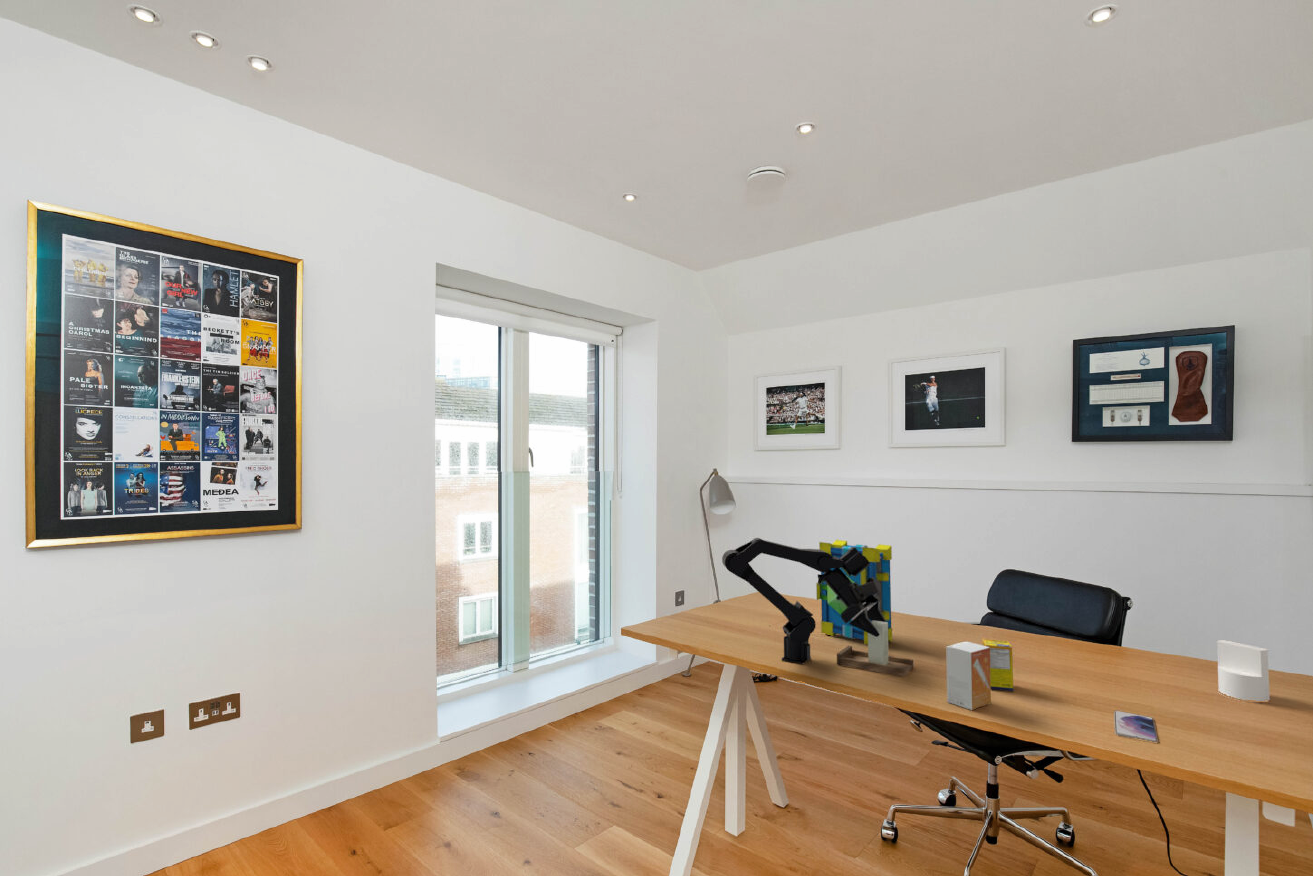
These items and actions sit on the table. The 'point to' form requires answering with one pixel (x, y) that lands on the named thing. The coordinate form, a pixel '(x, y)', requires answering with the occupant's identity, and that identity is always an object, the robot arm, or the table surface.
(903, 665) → the wooden tray
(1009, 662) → the supplement box
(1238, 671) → the base with upright slab
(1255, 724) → the table surface
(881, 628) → the pale green recessed block
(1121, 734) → the smartphone
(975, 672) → the small box
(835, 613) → the blue toy crate
